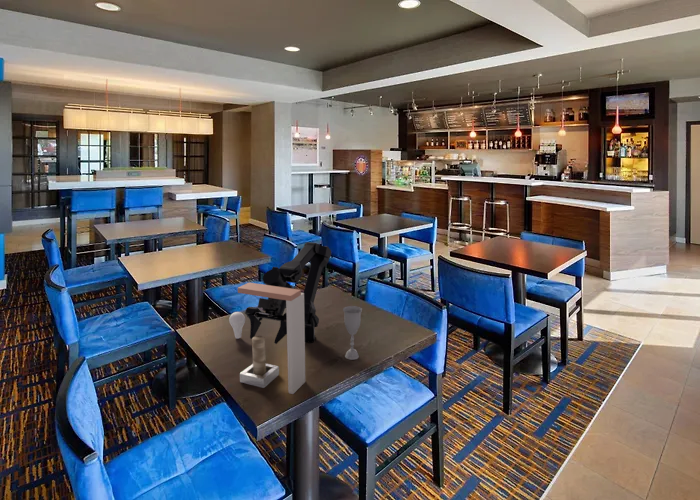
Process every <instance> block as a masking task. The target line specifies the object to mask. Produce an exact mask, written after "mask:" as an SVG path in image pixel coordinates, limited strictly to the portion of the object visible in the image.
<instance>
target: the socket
mask: <svg viewBox="0 0 700 500" xmlns="http://www.w3.org/2000/svg"><path fill="white" fill-rule="evenodd" d="M279 375H280V366H278V365H275V364H270V363H266V374H264V375H263V376H259V375H255V374H253V363H252V364H250V365H249V366H248V367H246V368H245V369H243V370H242V371H240V373H239V382H240V383H242V384H243V383H244V384H247V385H251V386H253V387H257V388H263V389H264V388H266V387H267V386H268V385H269V384H270V383H271V382H273V380H275V379H276V378H277V377H279Z"/></svg>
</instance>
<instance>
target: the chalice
mask: <svg viewBox="0 0 700 500" xmlns="http://www.w3.org/2000/svg"><path fill="white" fill-rule="evenodd" d="M342 311H343V314H344V319H343V320H344V327H345V329H346V331H347V333H348V334H349V335H350V338H349V339H350V343H349V345H350V348H349V349H348V350H347V351H346V352H345V355H344V357H345V359H348V360H358V359H359V358H360V356H359V353H358V351H357V349H355V348H354V346H355V341H354V340H355V337H354V335H356V334H357V333H358V330H359V329H360V327H361V322H362V321H361V319H362V318H361V317H362V316H361V315H362V311H363V308H362V307H360V306H357V305H349V306H344V307H343V309H342Z"/></svg>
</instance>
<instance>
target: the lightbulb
mask: <svg viewBox="0 0 700 500" xmlns="http://www.w3.org/2000/svg"><path fill="white" fill-rule="evenodd" d="M228 322H229V324H230V326H231V327H232V329H233V334H234V338H235V339H237V340H238V339H240V338H242V332H243V326H244V325H245V322H246V315H245V314H243V313H242V312H241V311H234V312H233V313H231V315H229V318H228Z"/></svg>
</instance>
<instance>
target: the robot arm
mask: <svg viewBox="0 0 700 500" xmlns="http://www.w3.org/2000/svg"><path fill="white" fill-rule="evenodd" d="M331 257H332V250H331V249H330V247H329V246H328V245H320V243H317V242H311V241H310V242H309V241H307V242H305V243H304V245H303V247H302V249H301V250H300V251H299V252H298V253H297V254H296V255H295V256H294V257H293V259H292V260H290V261H287V262H285V263H283V264H282V265H281V266H280V267H278V266H272V268H271V269H269V270H268V271H267V270H266V272H265V273H264V274H263V277H262V280H263V283H264V285H270V286H277V287H284V288H291V289H294V287H293V284H298V283H299V281H300V280H301V278H302V276H303V270H304V268H305V267H306V265H307V264H308V263H310V267H309V270H308V275H307V278H306V282H305V286H304V289H303V292H302V293H304V321H305V343H315V339H316V333H315V331H316V330H315V328H317V327H318V325H319V323H320V318H319V317H318V316H317V314H316V312H317V310H316V306H315V304H314V303H315V299H316V295H317V290H318V288H319V283H320V280H321V274H322V271H323V269H324V268H325V267H326V266H327V265H328V263H329V262H330V261H329V260H330V258H331ZM290 283H292V285H291V284H290ZM261 309H262V311H261ZM285 309H286V300H281V299H274V298H268V297H267V298H264V297H262V298H261V297H259V298H258V302H257V307H254V306H248V307H246V309H245V311H244V315H245V316H246V317H247V318H248V319H249V320H250V334H249V338H250V339H251V340H252V338H253V337H255V336H256V334H257V332H258V330H259V328H260V327H261V324H262V321H263V319H266V320H273V321H276V322H277V321H278V322H280V323H279V328H278V331H277V334H276V335H275V339H274V342H273V343H274V344H275V345H277V344H278V343H279V342H280V341H281V340H282V339H283V338H284V337H285V336H287V313H286V312H284V311H285Z"/></svg>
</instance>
